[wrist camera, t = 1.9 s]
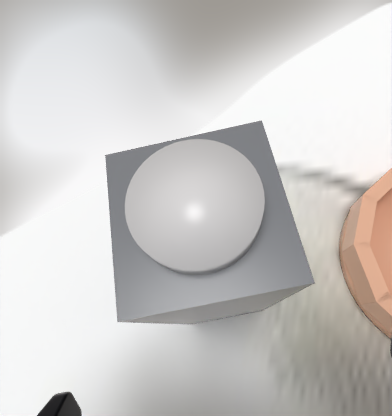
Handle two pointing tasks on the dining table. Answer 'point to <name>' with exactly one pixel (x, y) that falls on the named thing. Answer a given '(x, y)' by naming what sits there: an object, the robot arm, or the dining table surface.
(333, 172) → the dining table surface
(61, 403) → the robot arm
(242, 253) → the canister
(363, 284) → the ring dish
